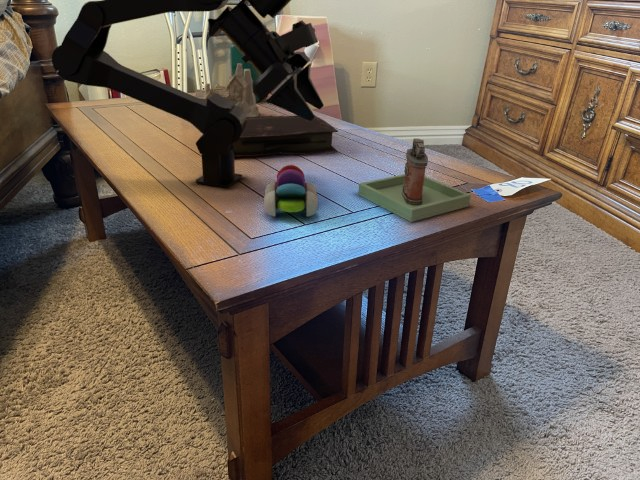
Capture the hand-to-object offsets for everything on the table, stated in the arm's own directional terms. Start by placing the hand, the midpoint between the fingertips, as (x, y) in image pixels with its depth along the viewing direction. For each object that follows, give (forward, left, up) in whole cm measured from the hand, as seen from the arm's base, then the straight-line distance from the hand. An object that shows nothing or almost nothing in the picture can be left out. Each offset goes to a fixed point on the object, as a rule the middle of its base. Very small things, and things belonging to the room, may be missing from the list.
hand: (317, 113), depth 86 cm
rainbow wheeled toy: (-11, 0, -14) cm, 18 cm away
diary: (+23, +17, -14) cm, 32 cm away
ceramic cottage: (+43, +38, -14) cm, 59 cm away
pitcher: (+67, +43, -14) cm, 81 cm away
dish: (+1, -18, -14) cm, 22 cm away
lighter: (+1, -17, -13) cm, 22 cm away
